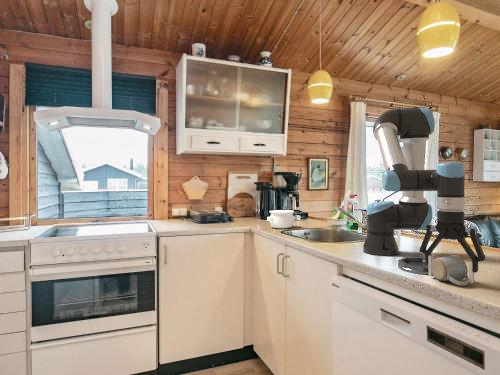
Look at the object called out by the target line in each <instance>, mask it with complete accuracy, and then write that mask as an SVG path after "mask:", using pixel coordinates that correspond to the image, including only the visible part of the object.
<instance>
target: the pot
mask: <svg viewBox="0 0 500 375" xmlns="http://www.w3.org/2000/svg"><path fill="white" fill-rule="evenodd" d="M294 212H295V211H294V210H292V209H291V210H289V209H277V210H276V209H275V210H269V212H268V213H270V216H267V217H266V221H267V222H269V224H270V227H271V228H274V229H290V228H292V227H293V225H294V221H295V220H296V216H295V215H293V214H294Z"/></svg>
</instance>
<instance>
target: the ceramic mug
mask: <svg viewBox="0 0 500 375" xmlns="http://www.w3.org/2000/svg"><path fill="white" fill-rule="evenodd" d="M430 268H431V272H432V274H433V275H432V276H433V277H434V278H435V279H437V280H439V281H449V282H451V283H452V284H454V285H457V286H460V287H464V286H467V285H468V284H469V267H468V266H467V262H466V261H465V259H463V257H462V256H460V255H458V254H452V255H448V256H441V257H436V258H434V260H433V261H432V262H431V265H430ZM460 280H465V281H460Z"/></svg>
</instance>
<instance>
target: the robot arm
mask: <svg viewBox="0 0 500 375" xmlns="http://www.w3.org/2000/svg"><path fill="white" fill-rule="evenodd" d="M435 124H436V123H435V116H434V114H433V112H432V110H431V109H430V108H429V107H409V108H392V109H391V108H390V109H388V110H386V111H384V112H382V113H381V114H380V115H379V116H378V117H377V119H376V120H375V122H374V123H373V127H372V134H373V136H374V138H375V140H376V141H377V142H378V147H379V149H380V150H379V151H380V153H381V158H382V160H383V164H384V168H385V170H384V171H383V172H382V176H381V184H382V185H381V187H382V188H383V190H385V192H386V191H387V192H402V196H401V197H400V198H399V199H398V203H396V204H395V202H394V200H386V201H378V202H377V201H376V202H371V203H368V205H367V206H366V214H365V215H366V236H365V240H364V243H363V246H362V248H363V249H362V252H363V253H364V254H368V255H374V256H396V255H398V254H399V246H398V244H397V241H396V238H395V230H399V231H400V230H401V231H402V230H404V231H405V230H406V231H410V230H411V231H423V230H424V231H425V230H426V232H425V234H424V236H423V240H422V242H421V245H420V247H419V250H418V251H419V253H422V254H424V258H425V263H426V264H427V265H428V270H429V275H428V276H434V275H433V274H432V272H431V268H430V265H431V262H432V261H433V260H434V259H435V257H434V256H435V254H432V253H433V251H434V250H435V249H436V248H437V246H438V245H439V244H440V242H442V240H443V239H444V240H451V241H458V243H459V244H460V245H461V247H462V248H463V250H464V252H465V253H466V255H467V256H468V257H469V259H470V260H469V262H468V277H469V282H468V284H473V283H474V282H475V273H478V272H479V262H484V261H485V260H486V255H485V252H484V250H483V248H482V245H481V243H480V239H479V237H478V234H477V233H478V230H477V228H476V227H473V228H470V227H466V225H465V212H464V210H465V207H466V206H465V180H466V179H465V176H466V172H465V164H464V163H463V162H459V161H457V162H456V161H454V162H439V163H438V164H437V165H436V169H425V156H426V154H425V153H426V152H425V149H426V142H427V141H428V140H429V139H430V136H431V135H433V133H434V131H435ZM398 137H399V138H398ZM400 142H401V143H402V146H403V147H402V146H401V144H400ZM425 192H436V200H437V201H436V208H437V212H436V225H433V224H431V223H432V220H433V212H434V211H433V207H432V205H431V204H429V203H428V199H427V198H425V196H424V195H425V194H424V193H425ZM435 230H436V231H437V232H438V235H437V236H436V238H435V239H434V240H433V241H432V243H431V244H430V245H429V242H430V240H431V237H432V235H433V232H435ZM465 233H467V235H468V236H470V240H471V242H472V245H473V247H474V250H475V251H474V250H473V248H472V247H471V246H470V244H469V243H468V242H467V240H466V238H465V237H464V234H465ZM428 246H429V247H428Z"/></svg>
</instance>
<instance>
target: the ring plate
mask: <svg viewBox="0 0 500 375" xmlns="http://www.w3.org/2000/svg"><path fill="white" fill-rule="evenodd" d="M397 268H398V269H399V270H401V271H404V272H407V273H410V274H411V273H412V274H415V275H416V274H417V275H423V276H424V275H425V276H430V275H429V270H428V265H427V264H426V263H425V257H421V256H420V257H419V256H416V257H415V256H414V257H411V256H410V257H407V256H405V257H404V256H403V258H399V259H398V260H397Z"/></svg>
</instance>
